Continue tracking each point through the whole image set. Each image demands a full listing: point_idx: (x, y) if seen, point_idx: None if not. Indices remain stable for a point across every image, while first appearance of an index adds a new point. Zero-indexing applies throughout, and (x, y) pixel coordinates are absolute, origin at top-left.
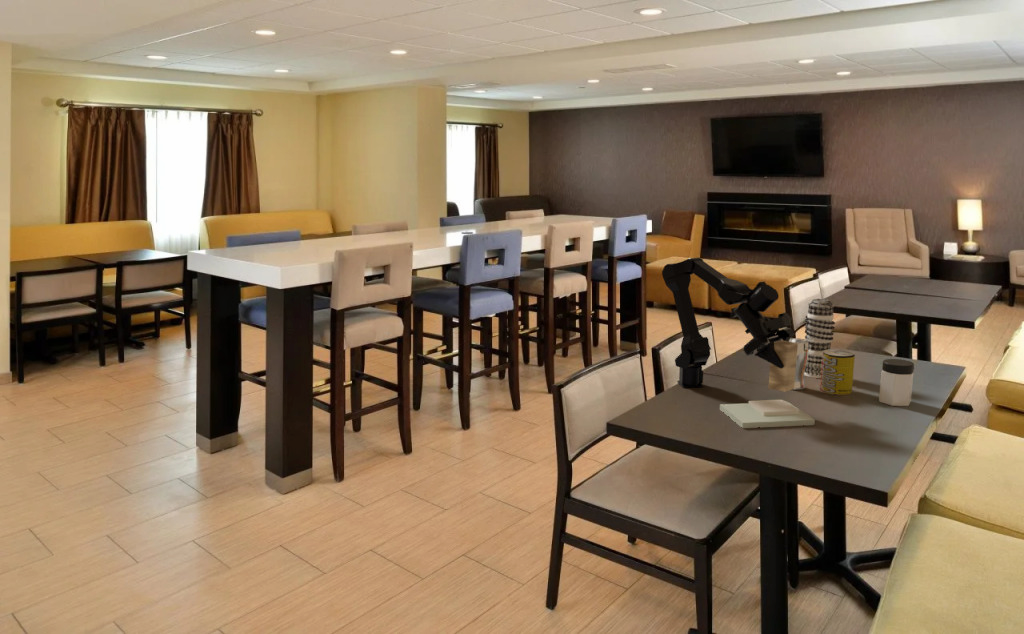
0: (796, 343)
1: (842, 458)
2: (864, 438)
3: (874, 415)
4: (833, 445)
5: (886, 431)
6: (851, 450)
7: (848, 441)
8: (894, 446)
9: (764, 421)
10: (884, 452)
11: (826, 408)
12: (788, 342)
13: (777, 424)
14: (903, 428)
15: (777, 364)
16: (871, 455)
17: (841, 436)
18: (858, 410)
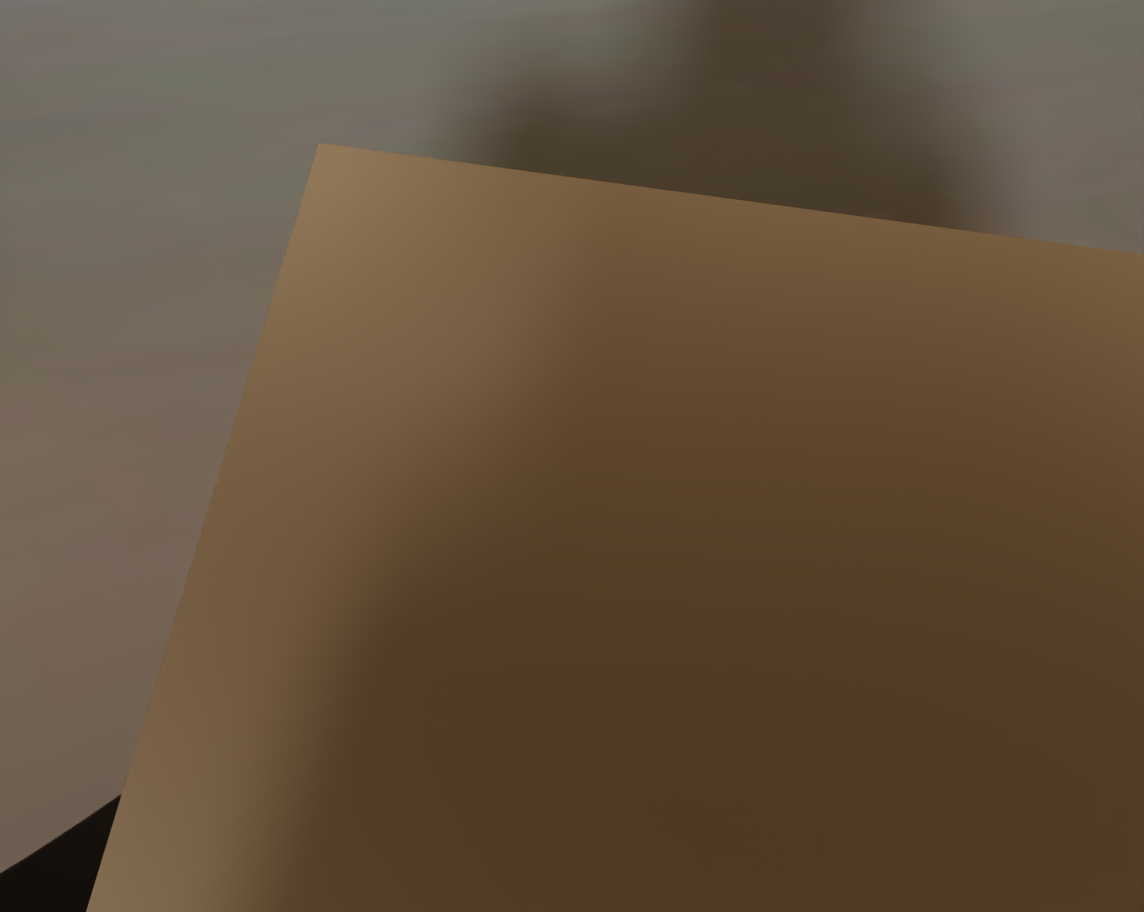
0: (409, 182)
1: (1097, 145)
2: (699, 128)
3: (133, 172)
4: (962, 222)
5: (470, 65)
6: (950, 138)
7: (825, 179)
8: (706, 5)
9: None
10: (835, 25)
11: (135, 501)
12: (485, 646)
13: None
14: (339, 10)
15: None
16: (930, 59)
17: None
18: (49, 283)
